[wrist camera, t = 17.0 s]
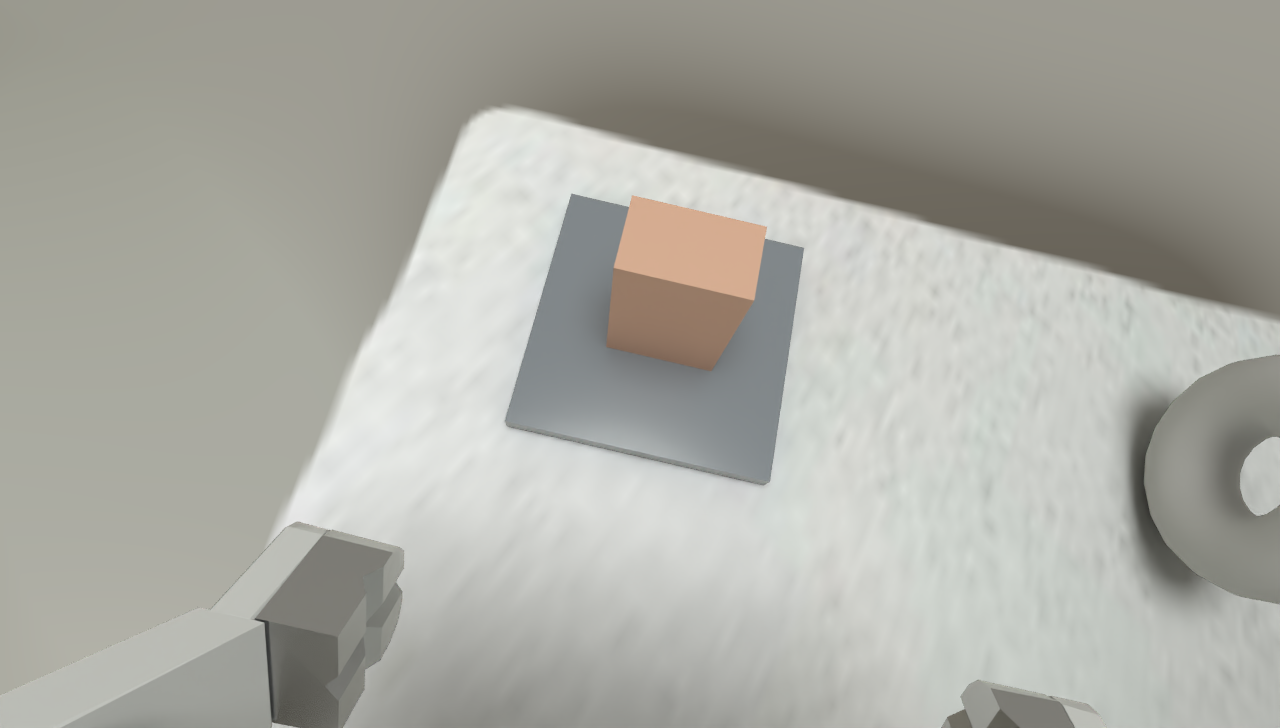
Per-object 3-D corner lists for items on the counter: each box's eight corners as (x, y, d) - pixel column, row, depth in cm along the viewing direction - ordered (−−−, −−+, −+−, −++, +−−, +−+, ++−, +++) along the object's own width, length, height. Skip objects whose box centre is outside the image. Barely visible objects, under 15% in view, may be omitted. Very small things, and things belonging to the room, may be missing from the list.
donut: (1205, 607, 29) (1502, 622, 20) (1132, 592, 29) (1395, 599, 20) (1185, 400, 32) (1432, 327, 23) (1119, 386, 32) (1340, 307, 23)
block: (722, 313, 31) (766, 226, 23) (711, 371, 30) (754, 300, 22) (620, 289, 31) (632, 195, 23) (606, 346, 30) (613, 267, 22)
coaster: (797, 257, 33) (803, 248, 32) (763, 485, 29) (769, 481, 28) (572, 204, 33) (571, 193, 32) (507, 426, 29) (504, 420, 28)
